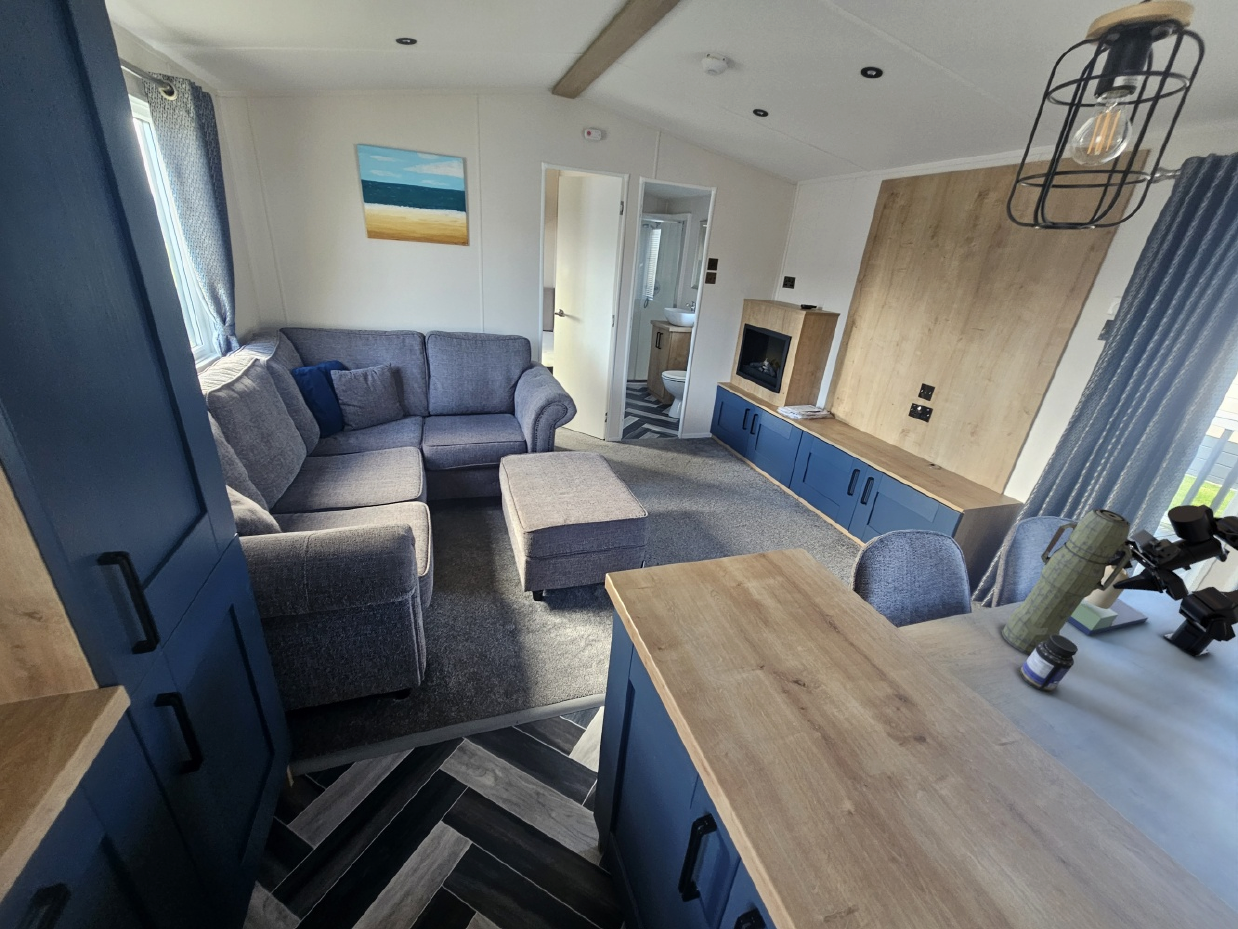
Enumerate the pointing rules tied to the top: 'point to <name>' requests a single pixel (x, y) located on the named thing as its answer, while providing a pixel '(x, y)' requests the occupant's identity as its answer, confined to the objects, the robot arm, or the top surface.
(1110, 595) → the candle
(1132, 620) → the stand
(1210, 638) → the robot arm
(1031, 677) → the pill bottle
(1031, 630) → the thermos
